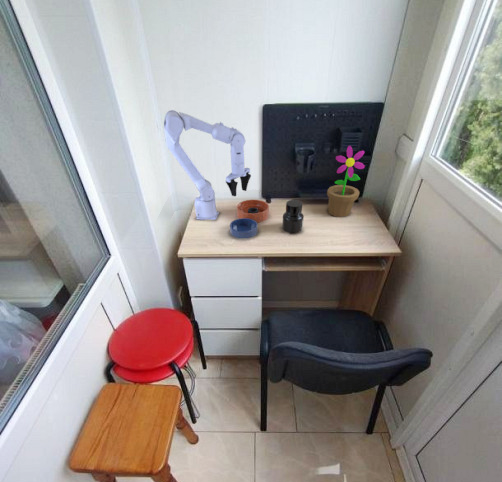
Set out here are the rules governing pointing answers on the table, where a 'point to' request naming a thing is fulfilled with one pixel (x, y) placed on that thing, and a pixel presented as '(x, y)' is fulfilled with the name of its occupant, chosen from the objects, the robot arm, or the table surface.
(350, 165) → the flowerpot
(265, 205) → the bowl
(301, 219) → the ink bottle
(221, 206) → the table surface
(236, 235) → the blue round dish
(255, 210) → the ring
